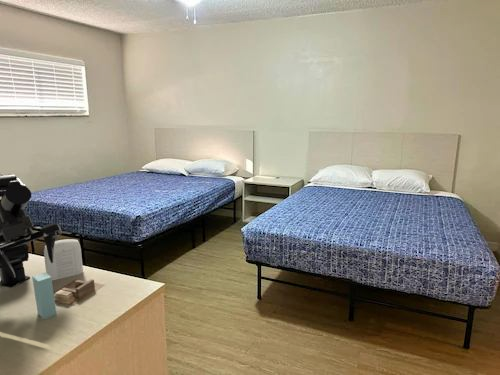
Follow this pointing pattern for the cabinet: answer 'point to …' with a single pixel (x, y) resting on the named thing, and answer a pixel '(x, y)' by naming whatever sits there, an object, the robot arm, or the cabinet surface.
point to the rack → (76, 291)
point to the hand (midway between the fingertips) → (33, 270)
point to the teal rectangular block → (44, 295)
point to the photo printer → (64, 259)
